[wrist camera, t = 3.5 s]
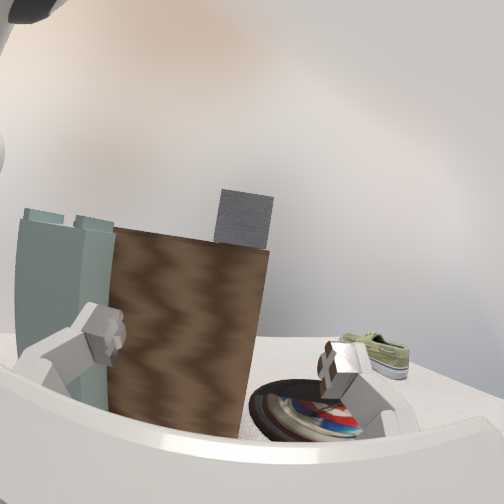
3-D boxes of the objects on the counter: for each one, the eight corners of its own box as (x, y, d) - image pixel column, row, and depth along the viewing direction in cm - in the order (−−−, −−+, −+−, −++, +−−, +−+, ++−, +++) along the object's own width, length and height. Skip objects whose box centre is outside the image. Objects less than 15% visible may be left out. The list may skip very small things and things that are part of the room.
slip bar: (213, 240, 19) (221, 189, 19) (227, 245, 41) (231, 220, 41) (266, 249, 20) (273, 197, 20) (252, 248, 42) (255, 224, 42)
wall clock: (425, 437, 36) (323, 375, 62) (436, 418, 36) (328, 358, 61) (326, 505, 22) (219, 390, 48) (340, 484, 22) (223, 369, 48)
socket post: (36, 445, 19) (22, 207, 19) (58, 423, 25) (56, 214, 25) (94, 472, 20) (88, 216, 20) (111, 444, 26) (117, 223, 26)
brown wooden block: (72, 417, 28) (74, 220, 28) (107, 381, 41) (117, 228, 41) (233, 458, 29) (269, 250, 29) (234, 408, 42) (260, 250, 42)
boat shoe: (352, 346, 88) (358, 320, 88) (416, 377, 61) (426, 346, 61) (328, 347, 84) (334, 320, 84) (393, 383, 57) (403, 349, 57)
